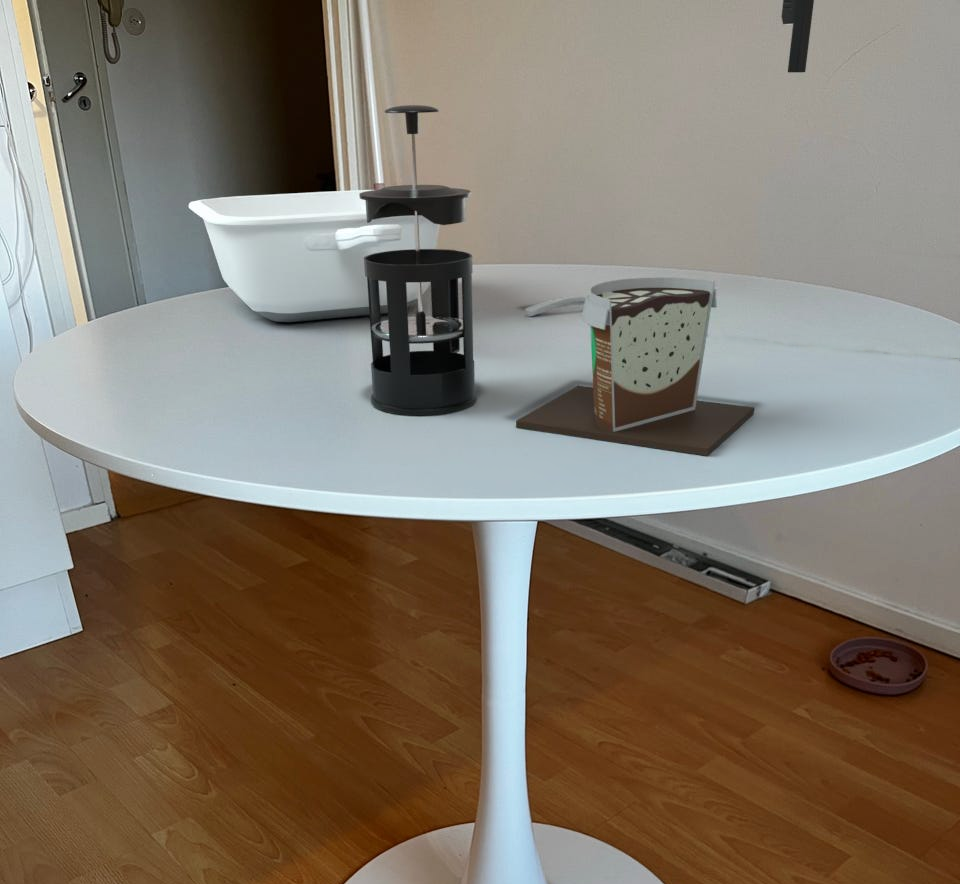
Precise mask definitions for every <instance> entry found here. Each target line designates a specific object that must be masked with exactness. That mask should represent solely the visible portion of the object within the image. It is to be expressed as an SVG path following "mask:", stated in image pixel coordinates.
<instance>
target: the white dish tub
mask: <svg viewBox="0 0 960 884" xmlns="http://www.w3.org/2000/svg"><path fill="white" fill-rule="evenodd" d="M372 190H373V189H353V190H350V189H349V190H335V191H332V190H331V191H313V192H312V191H311V192H297V193H293V192H292V193H276V194H256V195H254V194H253V195H236V196H224V197H213V198H205V199H198V200H193V201H190V202H189V203H188V209H189V210H191V211H192V212H193V213H194V214H196V215H197V216H198V217H200V218H201V219H202V220H203V223H204V226H205V229H206V232H207V235H208V238H209V241H210V244H211V247H212V250H213V253H214V256H215V259H216V262H217V265H218V268H219V271H220V274H221V277H222V279H223V281H224V282H225V284H226V285H227V286H228V287H229V288H230V289H231V291H232V292H234V293H235V295H237V297H239V298H240V300H242V302H244V303H245V304H246V305H247V306H248V307H249V308H250V309H251V310H252V311H253V312H255V313H256V314H258V315H259V316H260V317H263V318H266V319H268V320H270V321H272V322H276V323H278V322H279V323H296V322H307V321H316V320H317V321H318V320H329V319H339V318H351V317H362V316H370V314H369V299H368V284H367V277H366V276H365V269H364V257H365V256H368V255H370V254H374V253H380V252H386V251H395V250H409V249H416V247H415V225H414V216H396V217H386V218H379V219H374V220H372V221H371V222H370V223H367V217H366V202H365V200H363V199H360V196H359V194H360V193H362V192H366V191H372ZM418 220H419V243H420V249H437V245H438V239H439V234H440V228H441V225H439V224H434V223H432V222H431V221H429V220H428V219H426V218H425V217H423V216H422V215H418ZM430 285H431V282H421V290H422V295H424V294H425V292H426V291H427V289H428V287H429V286H430ZM406 286H407V306H408V308H409V307H410V306H411V305H413V304H414V303H416V302H417V301H418V292H417V282H406ZM379 297H380V313H381V315H384V314H388V308H387V291H386V281H379Z"/></svg>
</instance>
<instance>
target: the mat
mask: <svg viewBox="0 0 960 884" xmlns="http://www.w3.org/2000/svg"><path fill="white" fill-rule="evenodd" d="M754 415H755V406H746V405H739V404H731V403H723V402H715V401H714V402H713V401H706V400H698V399H697V401H696V407H695V410H692V411H688V412H685V413H681V414H677V415H674V416H670V417H666V418H663V419H659V420H655V421H652V422H648V423H645V424H641V425H637V426H634V427H630V428H626V429H623V430H619V431H615V432H612V431H609V430H606V429H604V428H602V427H601V426H599V425H598V424H597V423H596V422H595V416H594V394H593V386H586V385H576V386H574V387H573V388H571V389H569V390H568V391H566V392H564V393H562V394H560V395H559V396H557V397H555V398H553V399H551V400H549V401H548V402H546V403H545V404H543V405H540V406H539V407H537V408H536V409H533V410H531V412H529V413H527V414H525V415H523V416H522V417H520V418H518V419H517V420H516V421H515V428H516V429H523V430H530V431H538V432H542V433H543V432H544V433H550V434H556V435H565V436H570V437H577V438H585V439H589V440H598V441H604V442H610V443H611V442H612V443H618V444H623V445H631V446H638V447H644V448H645V447H646V448H650V449H659V450H664V451H671V452H677V453H684V454H685V453H686V454H692V455H697V456H704V457H708V456H710V454H712V453H713V452H714V451H715V450H716V449H717V448H718V447H719V446H720V445H722V444H723V443H724V442H725V441H726V440H727V439H728V438H729V437H730V436H731V435H733V434H734V433H735V432H736V431H737V430H738V429H739V428H740V427H741V426H742V425H743V424H745V423H746V422H747V421H748V420H749V419H750V418H752V416H754Z"/></svg>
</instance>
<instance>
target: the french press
mask: <svg viewBox="0 0 960 884" xmlns="http://www.w3.org/2000/svg"><path fill="white" fill-rule="evenodd" d="M439 112H440V111H439V108H436V107H434V106H429V105H419V104H409V105H407V104H406V105H398V106H392V107H389V108H386V109H385V110H384V113H385V114H404V116H405V127H406V135H409V136H410V154H411V157H410V158H411V174H412V175H411V177H412V178H411V179H412V184H404V185H391V186H384V187H382V188H379V189H371V190H372V191H366V192H362V193H360V194H359V196H360V199H363V200H365V202H366V217H367V223H370V222H371V221H372V220H374V219H379V218H386V217H396V216H414V225H415V247H416V249H409V250H395V251H386V252H380V253H374V254H370V255H368V256H365V257H364V269H365V276H366V277H367V284H368V299H369V314H370V315H369V327H370V329H369V330H370V341H371V343H370V344H371V356H372V357H371V358H372V361H371V363H370V368H371V371H370V373H371V383H372V384H371V385H372V394H371V395H370V404H371V406H372V407H373V408H375V409H377V410H379V411H382V412H385V413H388V414H389V413H390V414H394V415H401V416H403V415H404V416H434V415H435V416H436V415H444V414H445V415H446V414H451V413H455V412H458V411H459V412H460V411H462V410H466V409H469V408H470V407H472V406H474V405H475V404H476V403H477V401H478V393H477V390H476V388H475V387H476V384H475V383H476V379H475V360H474V326H473V325H474V323H473V319H474V318H473V277H472V276H473V275H472V274H473V272H474V271H473V270H474V269H473V255H472V253H470V252H466V251H463V250H457V249H446V248H436V249H420V243H419V220H418V215H422V216H423V217H425V218H426V219H428V220H429V221H431V222H432V223H434V224H439V225H440V226H449V225H457V224H460V223H464V222H466V220H467V203H466V202H467V200H466V198H469V197H471V196H472V191H471V190H470V189H465V188H457V187H450V186H446V185H441V184H418V180H417V179H418V178H417V176H418V175H417V173H418V172H417V153H416V152H417V151H416V135H419V114H422V113H423V114H424V113H439ZM459 279H461V305H462V306H461V307H462V319H460V307H459V300H460V299H459ZM379 281H386V291H387V308H388V313H387V319H385V320H382V314H381V313H380V297H379ZM406 282H417V292H418V299H417V311H416V312H415V316H409V310H408V309H409V307H408V306H407V286H406ZM421 282H430V298H431V299H430V300H431V301H430V302H431V315H426V313H425V311H424V310H423V294H422V290H421ZM460 339H462V346H463V350H462V351H463V353H459V352H460V350H461V345H460V344H461V341H460ZM383 341H384V342H388V343H389V354H387V355H384V347H383ZM412 344H418V345H419V344H420V345H421V344H432V350H410V349H411V348H410V347H411V346H410V345H412Z"/></svg>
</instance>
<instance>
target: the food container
mask: <svg viewBox="0 0 960 884" xmlns="http://www.w3.org/2000/svg"><path fill="white" fill-rule="evenodd" d="M715 283H716V281H715V280H711V279H705V278H704V279H703V278H691V277H673V276H671V277H670V276H651V277H650V276H649V277H648V276H647V277H633V278H632V277H630V278H629V277H628V278H619V279H613V280H608V281H607V280H606V281H603V282H600V283H599V282H598V283H597V284H595V285H592V286H591V287H590V288H589V292H588V293H589V294H588V295H587V296H585V297H586V300H585V303H583V304H584V305H583V309H582V313H581V320H582V321H583V322H584V324H587V325H589V329H590V348H591V349H590V350H591V368H592V369H591V370H592V371H591V372H592V387H593V394H594V416H595V422H596V423H597V424H598V425H599V426H601V427H602V428H604V429H606V430H609V431H612V432H615V431H619V430H623V429H626V428H630V427H634V426H637V425H641V424H645V423H648V422H652V421H655V420H659V419H663V418H666V417H670V416H674V415H677V414H681V413H685V412H688V411H692V410H695V407H696V401H697V400H698V394H699V387H700V380H701V376H702V375H701V374H702V368H703V362H704V356H705V349H706V343H707V336H708V330H709V323H710V318H711V317H710V316H711V311H712V308H713V309H714V308H715V309H716V308H717V307H718V304H717V301H718V300H717V289H716V288H715V286H716V285H715Z"/></svg>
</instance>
